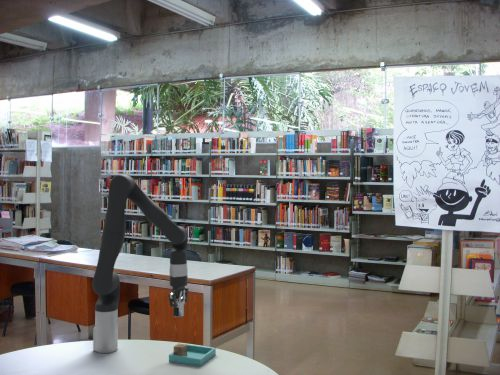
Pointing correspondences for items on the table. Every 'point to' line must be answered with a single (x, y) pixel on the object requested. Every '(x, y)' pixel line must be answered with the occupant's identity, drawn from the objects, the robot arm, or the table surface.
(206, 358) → the parts tray
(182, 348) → the walnut block
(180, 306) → the metal cylinder
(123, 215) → the robot arm
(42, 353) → the table surface
